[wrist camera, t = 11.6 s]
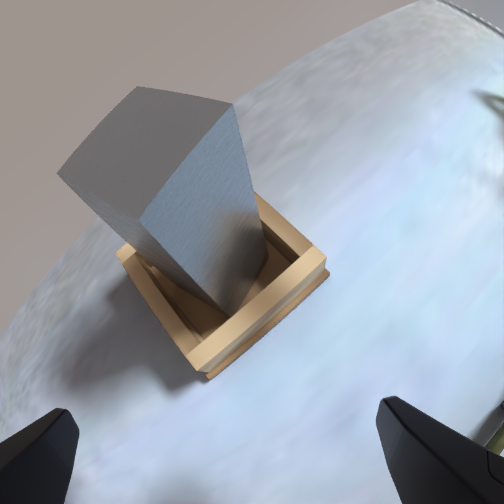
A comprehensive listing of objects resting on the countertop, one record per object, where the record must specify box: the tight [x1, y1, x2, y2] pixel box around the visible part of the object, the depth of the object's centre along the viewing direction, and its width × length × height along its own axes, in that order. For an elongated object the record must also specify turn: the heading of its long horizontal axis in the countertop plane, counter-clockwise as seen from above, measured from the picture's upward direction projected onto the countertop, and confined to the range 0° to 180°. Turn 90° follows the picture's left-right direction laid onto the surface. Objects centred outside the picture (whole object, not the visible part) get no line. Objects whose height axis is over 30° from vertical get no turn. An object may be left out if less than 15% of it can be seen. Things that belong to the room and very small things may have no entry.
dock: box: [115, 191, 330, 380], centre depth 19 cm, size 10×10×3 cm
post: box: [57, 86, 269, 318], centre depth 14 cm, size 4×4×12 cm
